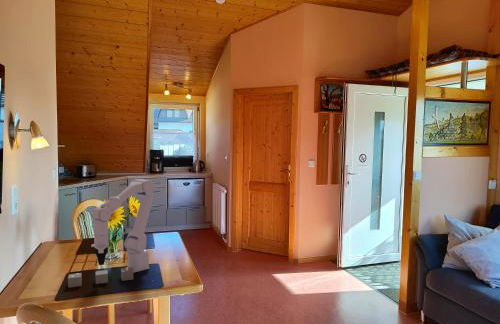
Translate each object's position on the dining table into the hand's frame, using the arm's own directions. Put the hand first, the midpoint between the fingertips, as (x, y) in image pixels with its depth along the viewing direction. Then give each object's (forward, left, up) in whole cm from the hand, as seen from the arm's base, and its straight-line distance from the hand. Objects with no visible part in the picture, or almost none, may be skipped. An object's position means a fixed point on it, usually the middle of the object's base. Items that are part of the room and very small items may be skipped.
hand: (101, 264), depth 161 cm
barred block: (-10, +4, -8) cm, 13 cm away
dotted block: (+10, -4, -8) cm, 13 cm away
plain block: (0, 0, -8) cm, 8 cm away
